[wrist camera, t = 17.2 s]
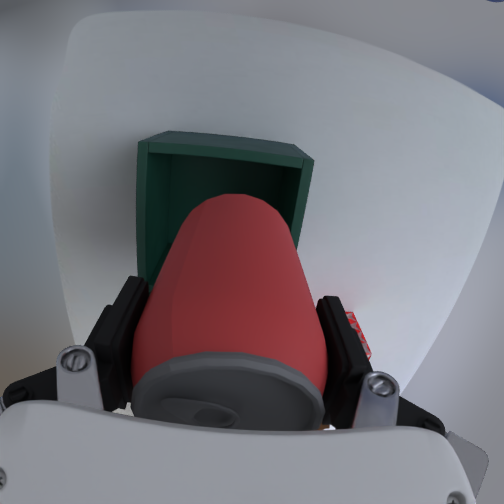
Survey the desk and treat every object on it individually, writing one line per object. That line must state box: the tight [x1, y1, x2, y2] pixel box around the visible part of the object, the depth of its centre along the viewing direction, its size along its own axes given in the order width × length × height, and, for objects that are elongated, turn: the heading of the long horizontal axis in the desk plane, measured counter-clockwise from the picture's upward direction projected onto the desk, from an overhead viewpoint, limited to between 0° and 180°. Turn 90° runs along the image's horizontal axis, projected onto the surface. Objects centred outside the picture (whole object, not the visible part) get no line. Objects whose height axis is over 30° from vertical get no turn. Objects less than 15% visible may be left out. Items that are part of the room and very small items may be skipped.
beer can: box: [131, 194, 328, 431], centre depth 13 cm, size 7×7×12 cm
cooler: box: [136, 131, 314, 292], centre depth 28 cm, size 13×13×9 cm
